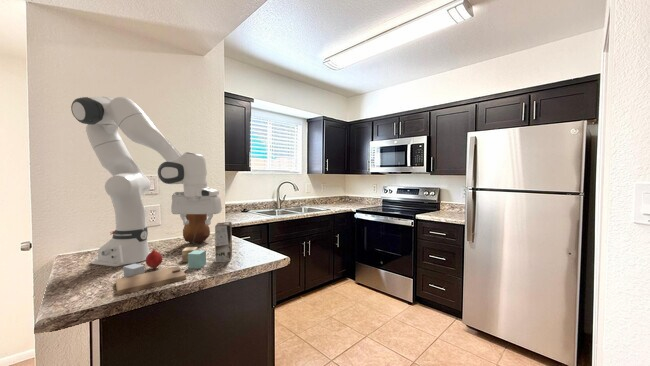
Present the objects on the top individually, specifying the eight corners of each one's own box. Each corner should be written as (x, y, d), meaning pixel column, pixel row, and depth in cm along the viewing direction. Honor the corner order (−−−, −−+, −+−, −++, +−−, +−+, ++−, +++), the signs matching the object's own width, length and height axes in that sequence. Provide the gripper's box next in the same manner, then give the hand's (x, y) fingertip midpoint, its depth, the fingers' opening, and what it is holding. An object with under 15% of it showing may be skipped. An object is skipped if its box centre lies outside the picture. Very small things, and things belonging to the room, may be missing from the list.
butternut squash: (194, 239, 155) (193, 197, 154) (215, 241, 152) (214, 197, 151) (176, 246, 141) (175, 199, 140) (199, 247, 139) (198, 200, 138)
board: (117, 295, 85) (117, 288, 85) (115, 283, 94) (115, 277, 94) (186, 278, 98) (186, 273, 98) (178, 269, 107) (178, 264, 107)
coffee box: (230, 261, 117) (230, 225, 117) (215, 262, 116) (214, 226, 115) (232, 255, 126) (232, 221, 126) (218, 256, 125) (217, 222, 124)
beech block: (182, 261, 117) (182, 250, 117) (186, 258, 122) (185, 247, 122) (194, 261, 118) (194, 250, 118) (197, 257, 123) (197, 246, 123)
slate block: (123, 277, 100) (123, 266, 100) (135, 273, 104) (134, 263, 104) (133, 279, 98) (133, 269, 98) (144, 275, 102) (144, 265, 101)
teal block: (188, 268, 109) (187, 253, 109) (194, 264, 114) (194, 250, 114) (199, 268, 109) (199, 254, 109) (206, 264, 114) (205, 250, 114)
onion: (143, 269, 108) (142, 250, 108) (158, 265, 113) (157, 246, 112) (150, 272, 105) (149, 252, 104) (165, 267, 110) (164, 248, 109)
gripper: (166, 192, 108) (168, 226, 109) (215, 192, 106) (216, 226, 107) (176, 191, 114) (178, 223, 115) (222, 190, 113) (223, 223, 113)
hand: (197, 224), depth 111 cm, fingers open, 8 cm apart
